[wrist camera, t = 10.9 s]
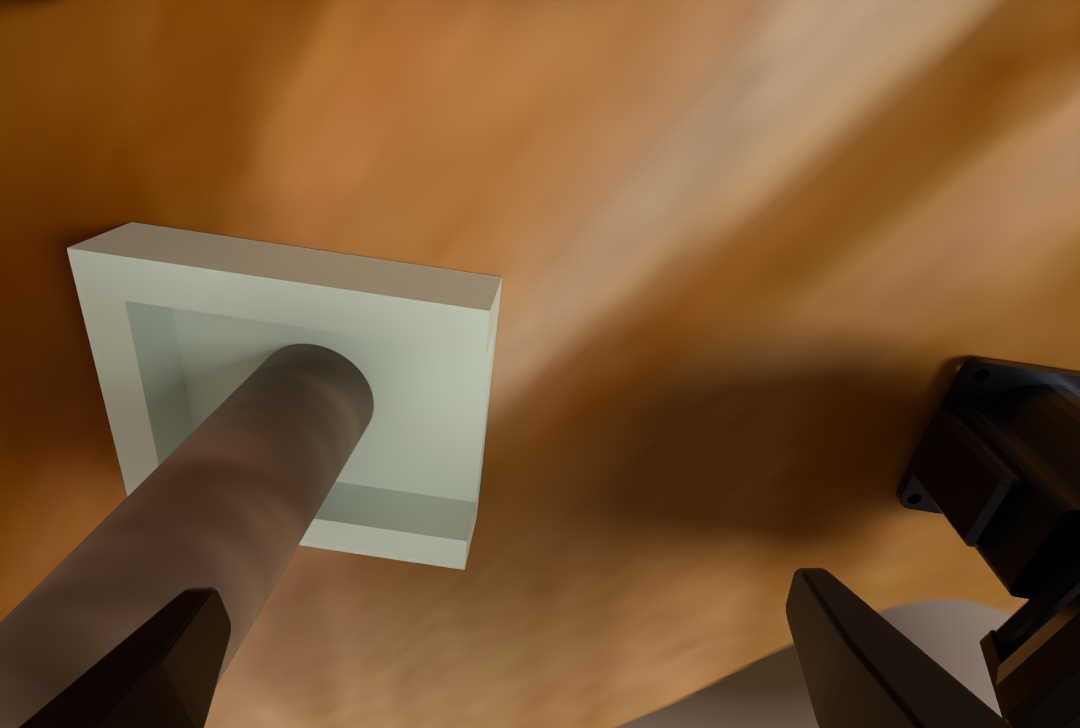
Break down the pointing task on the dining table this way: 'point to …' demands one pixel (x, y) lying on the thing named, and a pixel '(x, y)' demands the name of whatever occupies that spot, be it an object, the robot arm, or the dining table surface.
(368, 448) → the tray
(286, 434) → the brown round cylinder
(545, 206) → the dining table surface
